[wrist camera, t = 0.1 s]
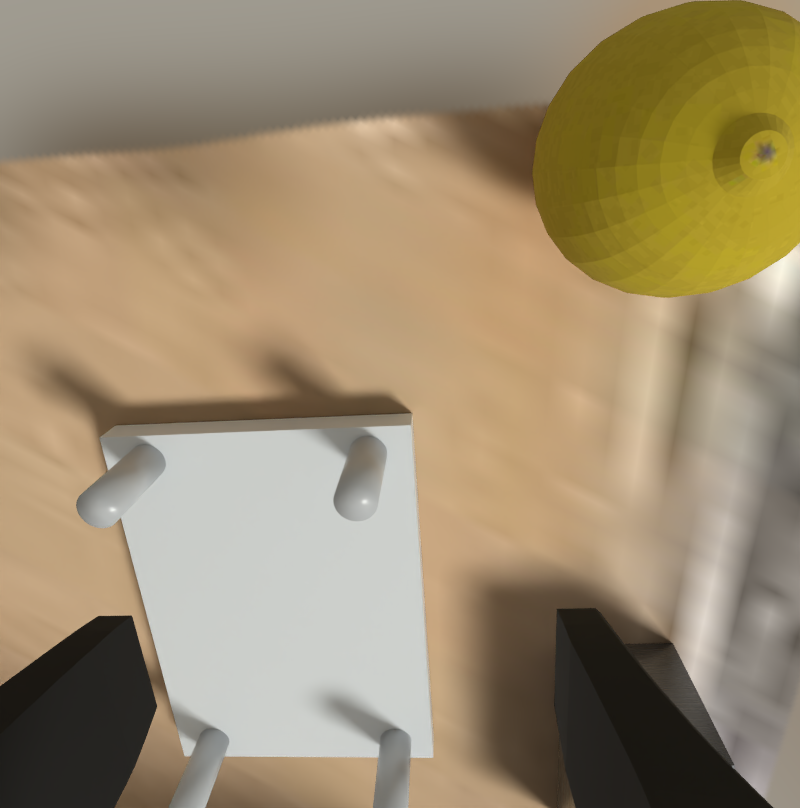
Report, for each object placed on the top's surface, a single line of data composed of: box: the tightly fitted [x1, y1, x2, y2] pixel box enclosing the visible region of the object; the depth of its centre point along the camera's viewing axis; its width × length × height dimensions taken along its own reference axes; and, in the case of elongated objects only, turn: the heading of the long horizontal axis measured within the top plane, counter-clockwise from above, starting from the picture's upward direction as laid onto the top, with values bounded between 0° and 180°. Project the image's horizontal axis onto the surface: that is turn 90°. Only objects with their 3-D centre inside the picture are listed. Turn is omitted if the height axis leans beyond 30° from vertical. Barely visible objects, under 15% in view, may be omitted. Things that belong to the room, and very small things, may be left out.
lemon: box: [532, 0, 800, 297], centre depth 13 cm, size 6×6×8 cm
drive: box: [557, 643, 734, 808], centre depth 21 cm, size 9×4×5 cm, turn 4°
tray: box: [76, 413, 433, 808], centre depth 20 cm, size 14×10×4 cm
